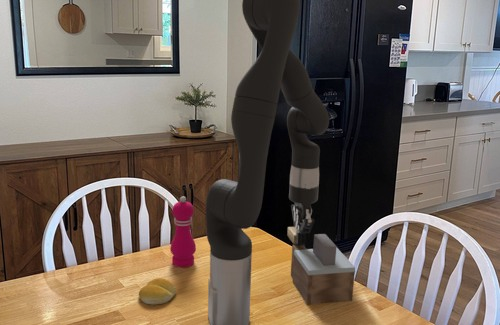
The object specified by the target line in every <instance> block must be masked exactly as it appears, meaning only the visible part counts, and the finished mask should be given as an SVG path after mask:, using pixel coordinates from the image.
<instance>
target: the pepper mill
mask: <svg viewBox="0 0 500 325" xmlns="http://www.w3.org/2000/svg"><path fill="white" fill-rule="evenodd" d="M171 210H172V215H173V217H174V218H173V221H174V225H175V234H174V237H173V239H172V240H171V243H170V253H171V255H172V258H171V261H172V262H171V263H172V265H173V266H175V267H178V268H188V267H191V266H192V265H194V263H195V255H194V254H196V250H197V246H196V242H195V240H194V238H193V235H192V231H191V225H192V224H193V218H192V216H193V215H194V214H195V209H194V206H193V204H192V203H191V202H189V201H187V198H186V196H184V195H183V196H181V197H180V198H179V201H177V202H176V203H174V204H173V206H172V209H171Z"/></svg>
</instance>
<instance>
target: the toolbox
mask: <svg viewBox="0 0 500 325" xmlns="http://www.w3.org/2000/svg"><path fill="white" fill-rule="evenodd" d="M291 246H292V247H291V260H290V261H291V262H290V264H291V265H290V277H291V279H292V283H293V285H294V286H295V288H296V290H297V292H298V293H299V295H300V297H301V298H302V299H303V301H304V303H305V305H306V306H308V305H318V304H319V305H320V304H331V303H344V302H352V301H353V296H354V295H353V293H354V285H355V284H354V283H355V273H356V272H345V273H331V274H318V275H308V274H307V272H306V271H305V269H304V268H303V266H302V265H301V264H300V262H299V261H298V259H297V258H296V256H295V255H294V250H304V249H307V248H306V245H303V246H298V245H297V244H292V245H291Z"/></svg>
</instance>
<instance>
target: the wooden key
mask: <svg viewBox="0 0 500 325" xmlns="http://www.w3.org/2000/svg"><path fill="white" fill-rule="evenodd" d="M295 228H296V226H287V237H288V239H289V240H290V241H291V242H292V245H297V243H296V232H297V231H296V229H295Z"/></svg>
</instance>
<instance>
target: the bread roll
mask: <svg viewBox="0 0 500 325" xmlns="http://www.w3.org/2000/svg"><path fill="white" fill-rule="evenodd" d="M175 295H176V287H175V285H174V284H173V283H172V282H171V281H170V280H169V279H165V278H160V277H157V278H154V279H152V280H150V281H149V282H147V284H146V285H144V286H143V287H141V288H140V289H139V291H138V297H139V299H140V300H141V301H142V302H143V303H144V304H147V305H153V306H154V305H162V304H165V303H168V302H170V300H171V299H172V298H173V297H175Z"/></svg>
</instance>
